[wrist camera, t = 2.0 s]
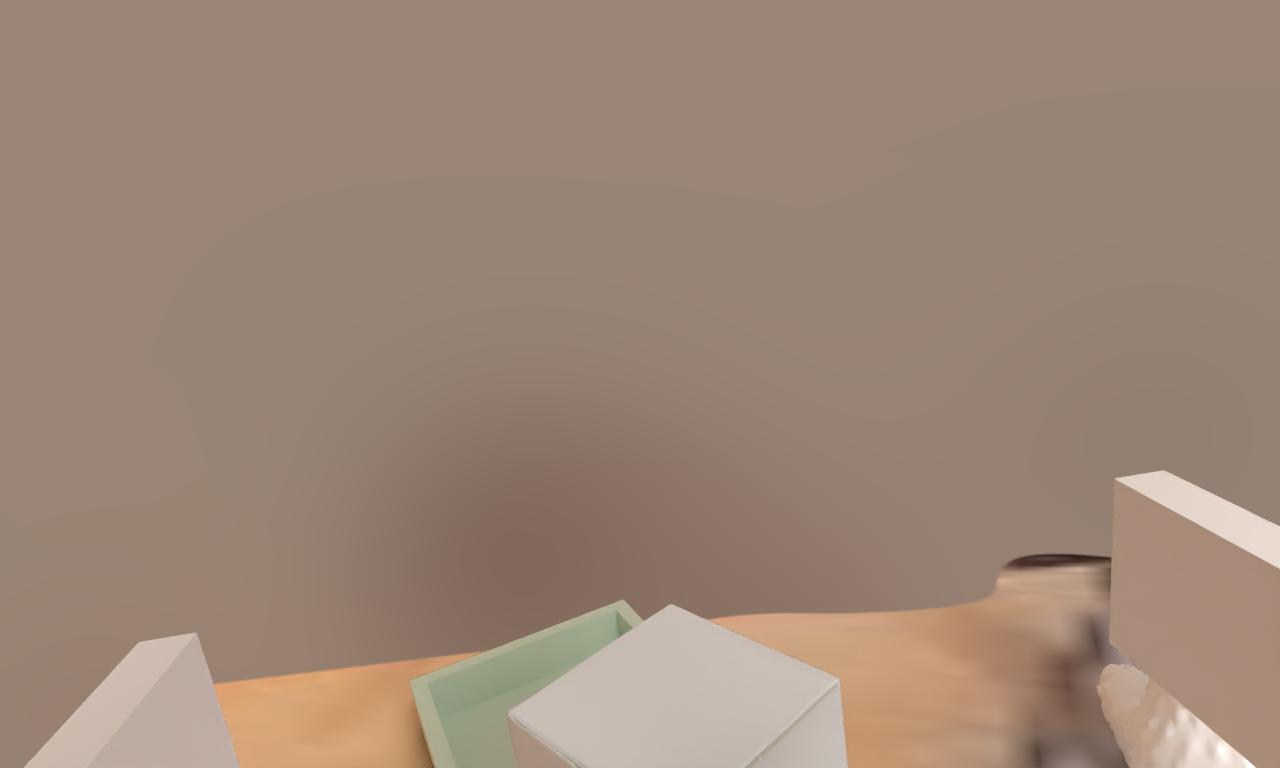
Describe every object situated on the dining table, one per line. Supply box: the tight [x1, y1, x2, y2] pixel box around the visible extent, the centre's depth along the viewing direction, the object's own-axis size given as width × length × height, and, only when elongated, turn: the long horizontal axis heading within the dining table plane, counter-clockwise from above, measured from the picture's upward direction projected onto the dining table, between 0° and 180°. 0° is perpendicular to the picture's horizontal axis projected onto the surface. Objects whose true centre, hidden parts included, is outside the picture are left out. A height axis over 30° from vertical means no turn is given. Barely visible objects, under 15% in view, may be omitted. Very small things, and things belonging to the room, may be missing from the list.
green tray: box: [409, 600, 643, 768], centre depth 39 cm, size 13×13×3 cm
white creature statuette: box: [1096, 664, 1256, 768], centre depth 30 cm, size 10×9×12 cm
